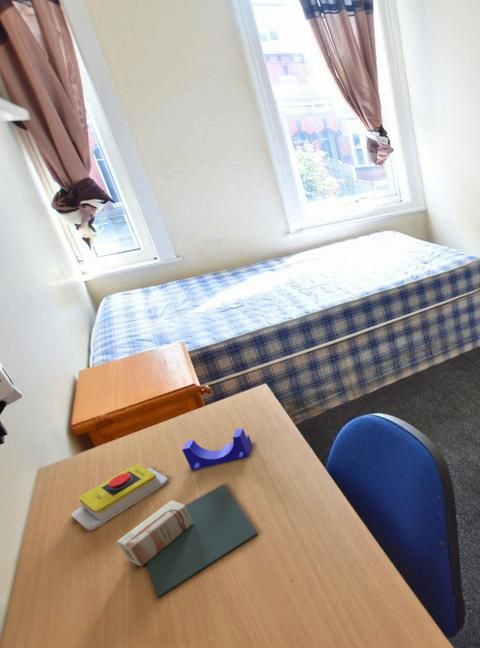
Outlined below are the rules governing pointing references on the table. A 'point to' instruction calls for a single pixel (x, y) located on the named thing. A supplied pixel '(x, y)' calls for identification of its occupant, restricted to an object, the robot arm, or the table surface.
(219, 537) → the mat
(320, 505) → the table surface
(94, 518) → the emergency button
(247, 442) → the cable clip
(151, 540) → the printed medicine box
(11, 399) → the robot arm
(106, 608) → the table surface
